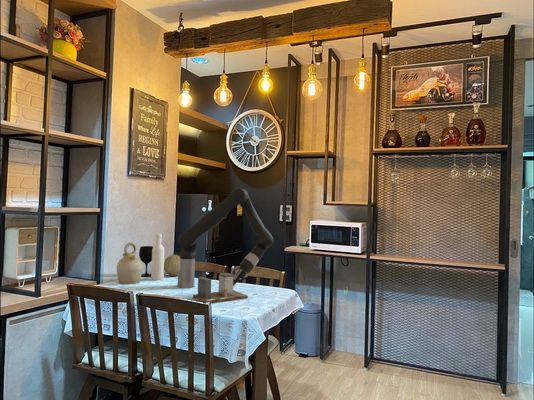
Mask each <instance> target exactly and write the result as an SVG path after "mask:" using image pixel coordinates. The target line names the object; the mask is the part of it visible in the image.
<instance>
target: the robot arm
mask: <svg viewBox="0 0 534 400" xmlns="http://www.w3.org/2000/svg"><path fill="white" fill-rule="evenodd" d="M237 206H240V207H241V209H242V210H243V212H244V214H245V216H246V218H247V222H248V225H250V227H251V230H252V231H253V233H254V234H255V235H257V236H258V237H259V240H258V241H257V242H256V244H255V246H254V247H252V249H251V251H249V253H248V254H247V255H246V256H245V257H244V258H243V260H242V261H241V262H240V263H239V268H237V269H236V270H232V273H231V274H233V275H234V277H233V287H235V285H236V284H237V283H241V282H242V281H244V280H245V279H248V278H249V277H248V274H249V273H251V272H252V271H253V269H254V268H255V267H256V266H257V264H258V263H259V261H260V260H261V259H262V257H263V256H264V254H265V252H266V251H267V249H268V248H270V247H271V246H273V245H274V242H275V241H274V237H273V235H272V234H271V232H270V231H269V230H268V229H267V228H266V226H265V225H264V223H263V221H262V220H261V218H260V217H259V215H258V213H257V211H256V209H255V207H254V206H253V204H252V200H251V198H250V196H249V193H248V191H247V190H246V189H244V188H241V187H237V188H235V189H233V190H232V191H231V192H230V193H229V194H228V195H227V196H226V197H225V198H224V199H223V200H222V201H221V202H220V203H218V204H217V205H215V206H214V207H213V208H211V209H210V210H209V211H208V212H207V213H205V214H204V216H202V217H201V218H200V219H198V221H196V223H195V224H194V225H193V226H191V227H189V228H188V229H187V230H185V231H184V232H183V233H181V234H180V235H179V237H178V245H179V246H180V247H181V250H180V251H181V252H180V253H179V256H180V265H179V271H178V276H177V287H178V288H180V289H182V288H183V289H192V288H194V287H195V275H196V274H195V273H196V272H195V271H196V270H195V269H196V268H195V267H196V254H197V245H198V238H200V237H201V236H202V235H203V234H206V233H207V232H208V231H209V232H210V230H212V229H214V228H215V227H217V226H218V225H219V224H220V223H221V222H222V221H223V220H224V219H225V218H226V217H227V215H228V214H229V213H230V212H231V211H232V210H233V209H234V208H236V207H237Z"/></svg>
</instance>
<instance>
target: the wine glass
mask: <svg viewBox="0 0 534 400" xmlns="http://www.w3.org/2000/svg"><path fill="white" fill-rule="evenodd" d="M153 247H154V246H153V245H142V246H140V247H139V251H138V256H139V257H138V258H139V259H140V260H141V262H142V264H144V265H145V272H144V273H142V274H141V278H151V274H152V273H148V265H149V264H150V263H152V249H153Z"/></svg>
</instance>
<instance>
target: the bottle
mask: <svg viewBox="0 0 534 400" xmlns="http://www.w3.org/2000/svg"><path fill="white" fill-rule="evenodd" d="M162 237H163V236H162V233H156V234H155V245H154V246H153V249H152V261H151V273H150V274H151V277H150V278H151V279H152V280H151V279H150V280H151V281H155V280H159V281H163V280H164V277H165V274H164V273H165V271H164V261H165V247H164V246H163V244H162V241H163V240H162Z"/></svg>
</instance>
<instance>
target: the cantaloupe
mask: <svg viewBox="0 0 534 400" xmlns="http://www.w3.org/2000/svg"><path fill="white" fill-rule="evenodd" d="M179 265H180V255H178V254H177V253H175V254H172V255H169V256H167V257H166V258H165V259H164V273H166V274H167V275H168V276H170V277H178V271H179Z"/></svg>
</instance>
